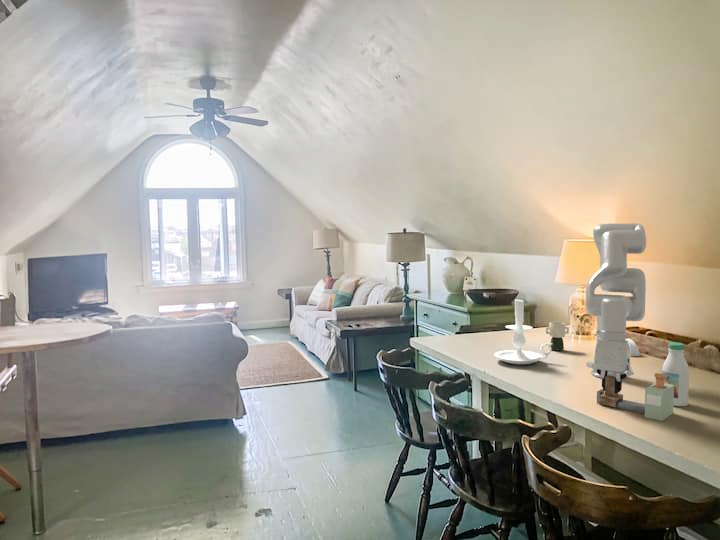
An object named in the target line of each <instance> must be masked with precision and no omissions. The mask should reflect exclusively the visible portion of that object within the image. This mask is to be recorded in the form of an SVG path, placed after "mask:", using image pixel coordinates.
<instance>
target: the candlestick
mask: <svg viewBox="0 0 720 540" xmlns="http://www.w3.org/2000/svg"><path fill="white" fill-rule="evenodd" d="M524 303H525V301H524V300H522V298H520V299H519V298H515V299H514V316H515V324H509V325H505V328H506V329H508V330H511V331H513V332H514V334H513V336H512V338H511V343H512V345H513V346H514V347H515V350H514V349H511V350H509V349H508V350H507V349H506V350H500V351H496V352H495V353H494V354H493V355H494V357H496V358H498V360H501V361H502V362H504V363H507V364H512V365H531V364H534V363H536V362H538V361H540V360H544V359H547V358H548V356H549V354H550V353H552V350H553V349H552V348H551V345H552V344H553V343H551V342H550V343H543V344H541V346H540V352H541V353H542V354H541V353H538V352H534V351H530V350H529V351H528V350H523V349H522V348H523V347H524V346H525V344H526V341H527V340H526V337H525V335H524V332H525V331H528V330H531V329H533V326H530V325H525V324H523V323H524V322H525V320H524V316H525V314H524V313H525V311H524V309H525V308H524V307H525V304H524ZM545 346H548V347H549V350H548V351H547V352H545V351H543V347H545ZM543 354H544V356H543Z"/></svg>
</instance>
